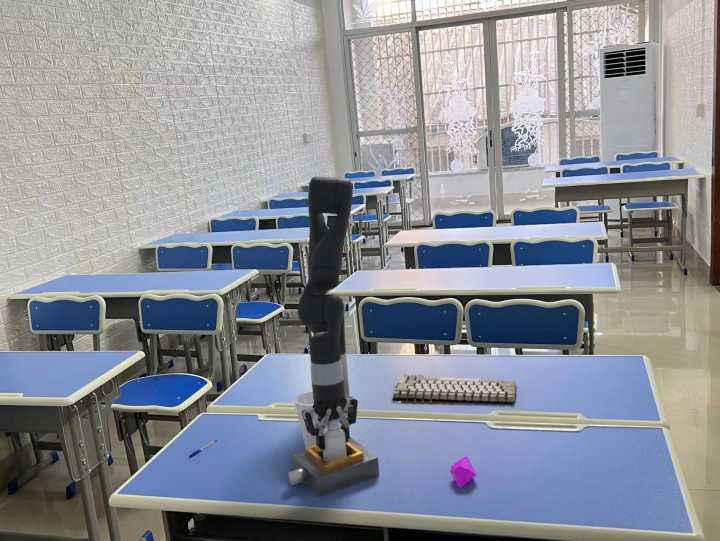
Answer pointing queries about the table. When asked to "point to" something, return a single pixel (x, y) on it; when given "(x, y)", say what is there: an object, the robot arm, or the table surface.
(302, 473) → the gearbox housing
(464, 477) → the crystal
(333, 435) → the eye dropper bottle
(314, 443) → the foam cup
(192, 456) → the ballpoint pen
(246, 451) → the table surface
